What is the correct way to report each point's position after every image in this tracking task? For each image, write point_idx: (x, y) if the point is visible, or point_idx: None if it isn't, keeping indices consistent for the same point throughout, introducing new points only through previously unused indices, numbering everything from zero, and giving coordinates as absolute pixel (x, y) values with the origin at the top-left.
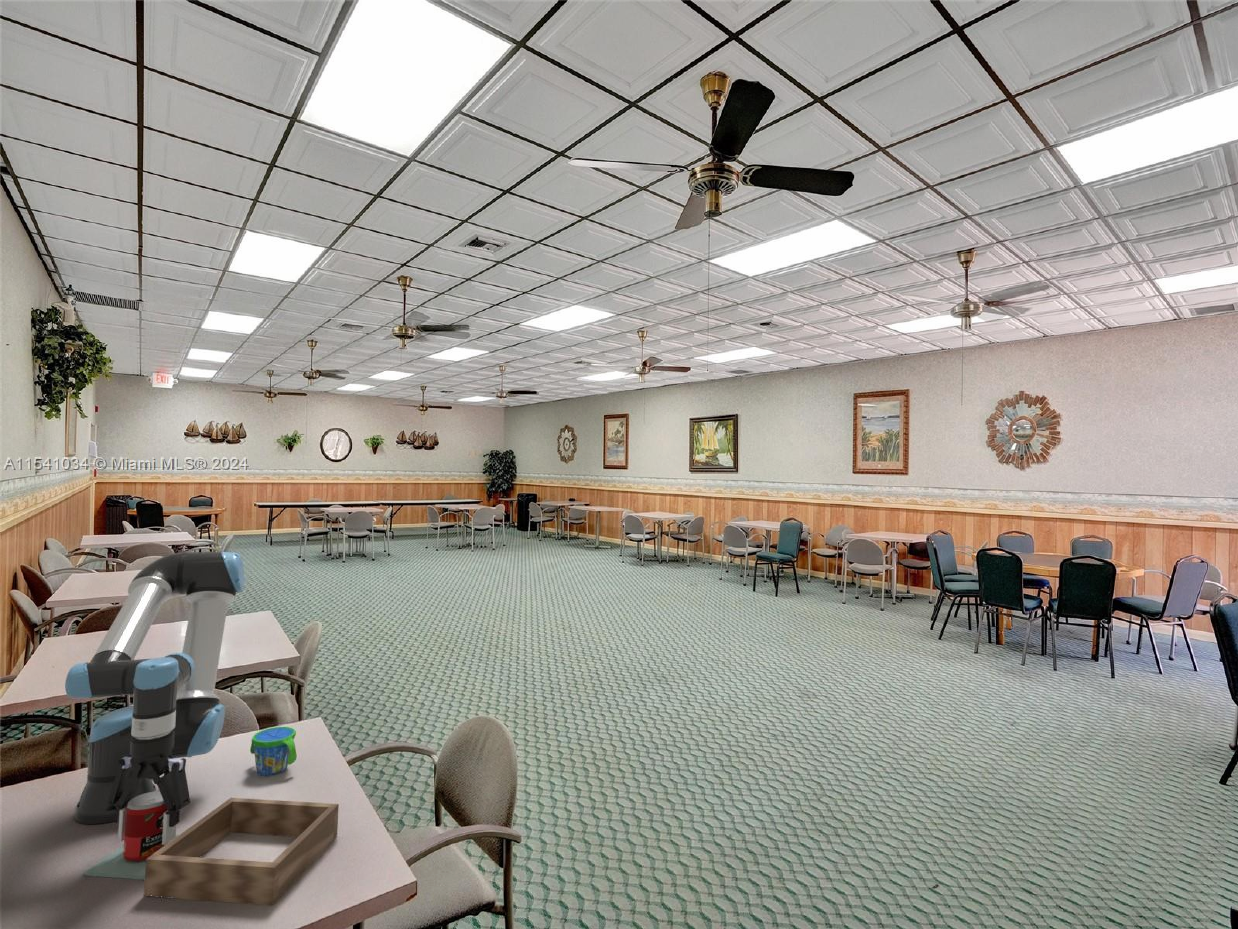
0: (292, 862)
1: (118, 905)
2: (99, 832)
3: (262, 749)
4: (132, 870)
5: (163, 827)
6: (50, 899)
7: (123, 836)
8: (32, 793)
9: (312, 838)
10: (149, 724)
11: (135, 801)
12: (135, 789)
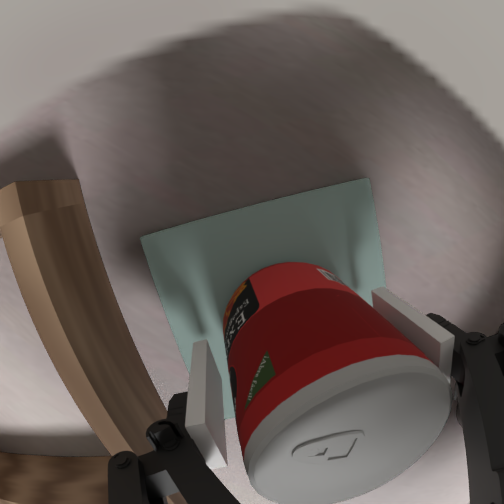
0: None
1: (107, 123)
2: (482, 317)
3: None
4: (229, 239)
5: (202, 377)
6: (332, 74)
7: (379, 304)
8: None
9: None
10: None
11: (423, 403)
12: (469, 439)
